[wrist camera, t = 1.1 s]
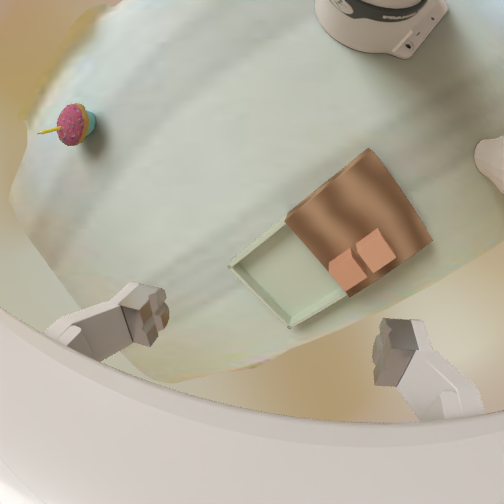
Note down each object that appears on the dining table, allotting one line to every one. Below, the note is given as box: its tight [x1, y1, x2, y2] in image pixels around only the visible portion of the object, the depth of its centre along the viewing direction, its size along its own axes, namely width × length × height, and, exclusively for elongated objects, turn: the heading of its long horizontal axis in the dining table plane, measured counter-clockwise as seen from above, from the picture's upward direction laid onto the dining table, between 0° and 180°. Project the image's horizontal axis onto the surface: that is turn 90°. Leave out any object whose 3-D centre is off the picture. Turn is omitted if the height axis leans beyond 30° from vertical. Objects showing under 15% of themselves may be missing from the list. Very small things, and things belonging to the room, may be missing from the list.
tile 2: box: [356, 228, 396, 273], centre depth 37 cm, size 4×4×3 cm
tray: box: [227, 213, 347, 329], centre depth 46 cm, size 13×16×3 cm
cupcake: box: [37, 103, 96, 146], centre depth 39 cm, size 9×8×12 cm
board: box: [284, 148, 433, 297], centre depth 39 cm, size 16×16×4 cm
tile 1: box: [329, 248, 367, 291], centre depth 39 cm, size 4×4×3 cm
